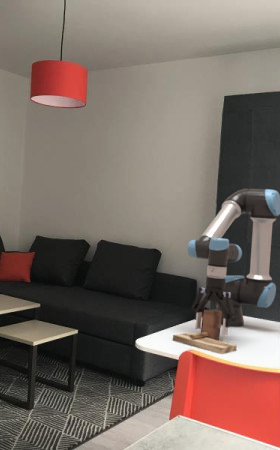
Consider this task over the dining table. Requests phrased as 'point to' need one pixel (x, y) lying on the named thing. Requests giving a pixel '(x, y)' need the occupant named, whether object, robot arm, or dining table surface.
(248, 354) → the dining table surface
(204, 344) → the board
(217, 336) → the wooden mallet
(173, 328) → the dining table surface
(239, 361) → the dining table surface
